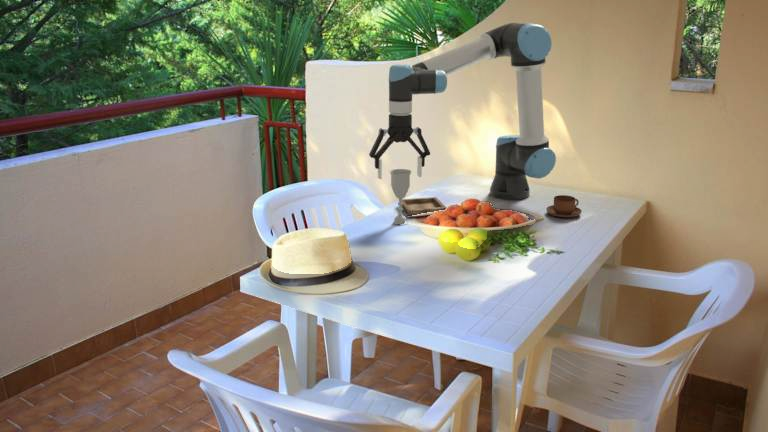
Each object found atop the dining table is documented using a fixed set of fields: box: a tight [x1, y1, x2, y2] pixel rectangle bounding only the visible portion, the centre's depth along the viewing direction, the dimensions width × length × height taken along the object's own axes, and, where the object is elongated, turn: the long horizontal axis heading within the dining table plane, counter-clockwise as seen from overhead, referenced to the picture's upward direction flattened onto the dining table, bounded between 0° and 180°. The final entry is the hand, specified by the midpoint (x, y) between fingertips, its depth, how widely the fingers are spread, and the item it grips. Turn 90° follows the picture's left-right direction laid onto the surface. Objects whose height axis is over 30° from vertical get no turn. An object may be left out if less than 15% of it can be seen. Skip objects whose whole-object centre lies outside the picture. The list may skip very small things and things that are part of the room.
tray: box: [402, 196, 448, 217], centre depth 248 cm, size 14×14×2 cm
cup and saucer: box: [546, 194, 582, 219], centre depth 242 cm, size 12×12×6 cm
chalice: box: [389, 168, 412, 225], centre depth 233 cm, size 7×7×18 cm
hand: (399, 177), depth 230 cm, fingers open, 13 cm apart
